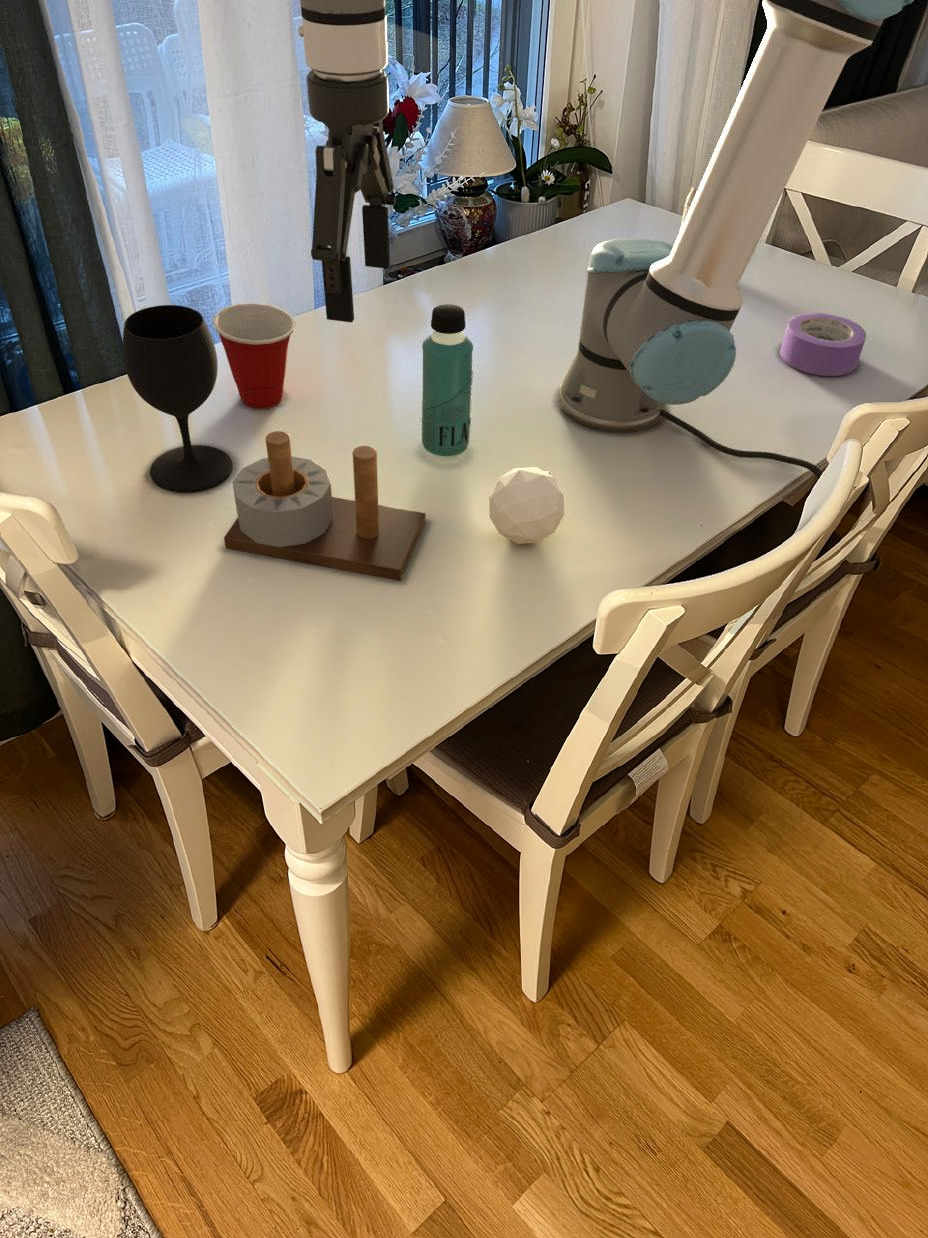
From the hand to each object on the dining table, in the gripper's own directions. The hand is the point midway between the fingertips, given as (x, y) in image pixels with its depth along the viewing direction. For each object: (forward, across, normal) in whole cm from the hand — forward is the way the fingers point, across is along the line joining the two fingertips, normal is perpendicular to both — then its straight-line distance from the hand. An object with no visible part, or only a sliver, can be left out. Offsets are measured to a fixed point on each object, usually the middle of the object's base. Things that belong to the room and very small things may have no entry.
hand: (359, 291), depth 102 cm
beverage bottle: (+26, -10, +7) cm, 28 cm away
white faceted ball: (+26, +4, +21) cm, 34 cm away
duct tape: (+24, +11, -7) cm, 27 cm away
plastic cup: (+25, -16, -21) cm, 36 cm away
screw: (+27, -85, +34) cm, 96 cm away
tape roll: (+27, -52, +58) cm, 82 cm away
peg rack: (+25, +11, -2) cm, 28 cm away
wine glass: (+25, +3, -23) cm, 34 cm away
